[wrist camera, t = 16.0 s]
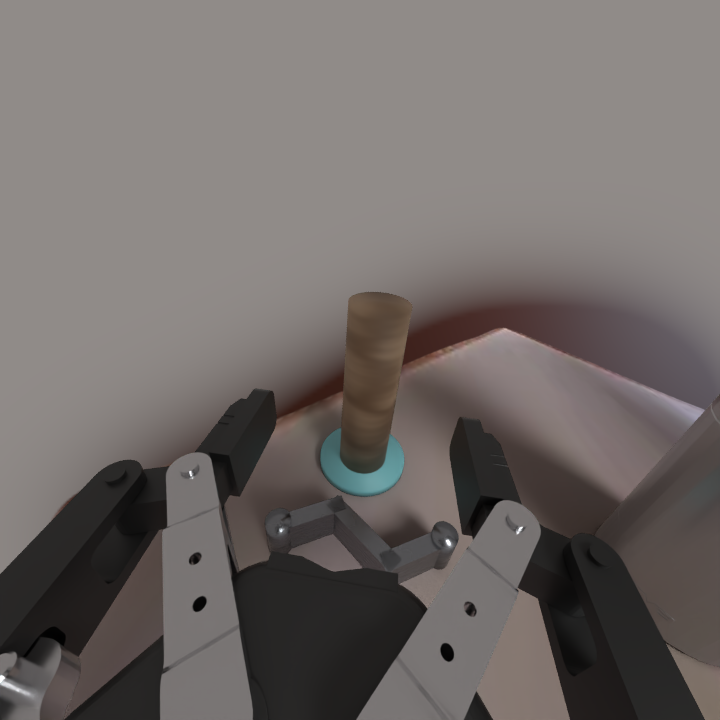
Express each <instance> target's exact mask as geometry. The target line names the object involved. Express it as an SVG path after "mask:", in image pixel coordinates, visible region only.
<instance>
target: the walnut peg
mask: <svg viewBox="0 0 720 720" xmlns="http://www.w3.org/2000/svg"><path fill="white" fill-rule="evenodd" d="M411 311H412V304H411V303H410V302H409V301H408V300H406V299H404V298H402V297H400V296H396V295H393V294H388V293H381V292H365V293H359V294H356V295H353V296H351V297H350V298H349V301H348V319H347V336H346V337H347V338H346V354H345V372H344V389H343V407H342V424H341V442H340V458H341V461H342V463H343V464H344V465H345V466H346V467H347V468H348V469H349V470H351V471H353V472H356V473H361V474H368V473H372V472H375V471H377V470H378V469H380V468H381V467H382V466H383V464H384V462H385V458H386V453H387V447H388V441H389V436H390V430H391V424H392V419H393V413H394V407H395V402H396V396H397V390H398V385H399V379H400V374H401V368H402V362H403V357H404V351H405V345H406V339H407V334H408V328H409V323H410V317H411Z"/></svg>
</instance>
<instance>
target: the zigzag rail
mask: <svg viewBox="0 0 720 720" xmlns="http://www.w3.org/2000/svg"><path fill="white" fill-rule="evenodd" d="M265 528H266V534H267V540H268V546H269V550H270V552H272V551H274V552H280V553H285V554H287V553H288V552H289V551H290V550H291V548H294V547H297V546H299V545H302V544H305V543H308V542H310V541H313V540H316V539H319V538H321V537H324V536H327V535H330V534H334V535H335V536H336V537H337V538H338V539H339V541H340V542H341V543H342V544H343V545H344V546H345V547H346V548H347V550H348V551H349V552H350V553H351V554H352V555H353V556H354V557H355V559H356V560H357V561H358V562H359V563H360V564H361V565H362V566H363V568H370V569H375V570H381V571H387V572H392V573H398V584H400V583H402V582H404V581H406V580H408V579H410V578H413V577H415V576H417V575H419V574H421V573H423V572H426V571H428V570H430V569H432V568H435V569H443V568H445V567H446V566H447V564H448V562H449V560H450V557H451V555H452V553H453V551H454V549H455V547H456V545H457V542H458V533H457V531H456V529H455V528H454V527H453V526H452V525H451V524H450V523H447V522H444V521H440V522H437V523H436V524H435V525H434V527H433V530H432V532H431V533H428V534H426V535H423V536H421V537H419V538H416V539H414V540H411V541H409V542H406V543H404V544H401V545H399V546H397V547H394V548H392V549H391V548H390V547H389V546H388V545H387V544H386V543H385V542H384V541H383V540H382V539H381V538H380V537H379V536H378V535H377V534H376V533H375V532H374V531H373V530H372V529H371V528H370V527H369V526H368V525H367V524H366V523H365V522H364V521H363V520H362V519H361V518H360V517H359V516H358V515H357V514H356V513H355V512H354V511H353V510H352V509H351V508H350V507H349V506H348V505H347V504H346V503H345V502H344V501H343V498H342V496H338V495H337V496H336V497H335V498H331V499H328V500H325V501H322V502H319V503H316V504H312V505H309V506H306V507H303V508H300V509H297V510H293V511H290V512H288V511H287V510H286V509H283V508H277V509H274V510H272V511H271V512H270V513H269V514H268V515H267V517H266V519H265Z"/></svg>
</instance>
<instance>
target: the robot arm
mask: <svg viewBox="0 0 720 720" xmlns="http://www.w3.org/2000/svg"><path fill="white" fill-rule="evenodd" d="M276 418H277V417H276V408H275V400H274V393H273V391H270V390H262V389H254V390H253V391H252V392H251V394H250V395H249V397H248V398H247V399H240V400H238V401H237V402H235V403H234V404H233V405H231V406H230V407H229V408H228V410H227V411H226V412H225V414H224V416H222V417H221V419H220V420H219V421H218V424H216V425H215V427H214V428H213V429H212V431H211V432H210V433H209V434H208V436H207V437H206V438H205V440H204V441H203V442H202V444H201V445H200V446H199V448H198V449H197V450H196V451H195V452H194V453H190V454H187V455H184V456H182V457H180V458H179V459H177V460H176V461H174V462H173V463H172V464H171V466H167V467H160V468H152V469H144V470H143V468H142V466H141V465H140V463H139V462H137V461H135V460H123V461H119V462H116V463H113V464H111V465H109V466H107V467H105V468H104V469H102V470H101V471H100V472H98V474H96V475H95V476H94V477H93V479H91V480H90V482H89V483H88V484H87V485H86V486H85V487H84V488H83V489H82V490H81V491H80V492H79V493H78V494H77V495H76V496H75V497H74V498H73V499H72V500H71V501H70V502H69V503H68V504H67V505H66V506H65V507H64V509H63V510H62V511H61V512H60V513H59V514H58V515H57V516H56V517H55V518H54V519H53V520H52V521H51V522H50V523H49V524H48V525H47V526H46V527H45V528H44V529H43V530H42V531H41V532H40V533H39V535H38V536H37V537H36V538H35V539H34V540H33V541H32V542H31V543H30V544H29V545H28V546H27V547H26V548H25V549H24V550H23V551H22V552H21V553H20V554H19V555H18V556H17V557H16V558H15V559H14V560H13V561H12V562H11V564H10V565H9V566H8V567H7V568H6V569H5V570H4V571H3V572H2V573H1V574H0V720H64V714H65V710H66V707H67V705H68V704H69V702H70V701H71V699H72V697H73V694H74V689H75V687H76V685H77V682H78V680H79V676H80V672H81V663H80V660H79V658H78V656H79V655H80V653H81V652H82V650H83V649H84V647H85V645H86V644H87V642H88V641H89V639H90V637H91V636H92V634H93V633H94V631H95V630H96V628H97V626H98V625H99V623H100V622H101V620H102V619H103V617H104V615H105V614H106V612H107V611H108V609H109V608H110V606H111V604H112V603H113V601H114V600H115V598H116V597H117V595H118V593H119V592H120V590H121V589H122V587H123V586H124V584H125V582H126V581H127V579H128V578H129V576H130V575H131V573H132V571H133V570H134V568H135V567H136V565H137V564H138V562H139V560H140V559H141V557H142V556H143V554H144V553H145V551H146V549H147V548H148V546H149V545H150V543H151V541H152V540H153V538H154V537H155V535H156V534H157V532H158V530H160V529H163V532H162V564H163V625H164V635H162V636H161V637H160V638H159V639H158V640H157V641H155V642H154V643H153V644H152V645H151V646H150V647H148V648H147V649H146V650H145V651H144V652H142V653H141V654H140V655H139V656H138V657H137V658H135V659H134V660H133V661H132V662H131V663H130V664H128V665H127V666H126V667H125V668H124V669H123V670H121V671H120V672H119V673H118V674H117V675H115V676H114V677H113V678H112V679H111V680H110V681H108V682H107V683H106V684H105V685H104V686H103V687H101V688H100V689H99V690H98V691H97V692H95V693H94V694H93V695H92V696H91V697H90V698H88V699H87V700H86V701H85V702H84V703H83V704H81V705H80V706H79V707H78V708H77V709H76V710H74V711H73V712H72V713H71V714H70V715H69V716H68V717H67V718H66V719H65V720H493V719H492V717H491V715H490V714H489V712H488V710H487V709H486V707H485V705H484V703H483V702H482V700H481V698H480V696H479V695H478V693H477V688H478V686H479V684H480V681H481V679H482V677H483V674H484V672H485V670H486V667H487V665H488V663H489V661H490V658H491V656H492V654H493V651H494V649H495V647H496V644H497V642H498V640H499V638H500V635H501V633H502V631H503V628H504V626H505V624H506V621H507V619H508V617H509V614H510V612H511V610H512V608H513V605H514V603H515V601H516V598H517V595H518V590H517V588H519V589H521V590H523V591H525V592H527V593H529V594H530V595H532V596H534V597H536V598H538V601H539V605H540V608H541V612H542V616H543V620H544V623H545V627H546V631H547V635H548V638H549V642H550V646H551V650H552V653H553V657H554V661H555V665H556V668H557V672H558V676H559V680H560V683H561V687H562V691H563V695H564V698H565V702H566V706H567V710H568V713H569V717H570V720H705V719H704V717H703V715H702V713H701V711H700V709H699V707H698V705H697V703H696V701H695V699H694V697H693V696H692V694H691V692H690V690H689V688H688V686H687V684H686V682H685V680H684V678H683V676H682V674H681V672H680V670H679V668H678V666H677V665H676V663H675V661H674V659H673V657H672V655H671V653H670V651H669V649H668V647H667V645H666V643H665V641H666V642H667V643H669V644H670V645H672V646H673V647H675V648H677V649H678V650H680V651H682V652H683V653H685V654H687V655H688V656H691V657H693V658H695V659H697V660H699V661H702V662H704V663H706V664H709V665H713V666H717V667H720V394H719V395H718V396H717V398H716V399H715V400H714V401H713V402H712V404H711V405H710V406H709V407H708V408H707V409H706V410H705V411H704V412H703V414H702V415H701V416H700V417H699V418H698V419H697V420H696V421H695V422H694V424H693V425H692V426H691V427H690V428H689V429H688V430H687V431H686V432H685V433H684V435H683V436H682V437H681V438H680V439H679V440H678V441H677V442H676V443H675V445H674V446H673V447H672V448H671V449H670V450H669V451H668V452H667V453H666V454H665V456H664V457H663V458H662V459H661V460H660V461H659V462H658V463H657V464H656V466H655V467H654V468H653V469H652V470H651V471H650V472H649V473H648V474H647V475H646V477H645V478H644V479H643V480H642V481H641V482H640V483H639V484H638V485H637V487H636V488H635V489H634V490H633V491H632V492H631V493H630V494H629V495H628V496H627V498H626V499H625V500H624V501H623V502H622V503H621V504H620V505H619V506H618V507H617V508H616V509H615V511H614V512H613V513H612V514H611V515H610V516H609V517H608V518H607V520H606V521H605V522H604V523H603V524H602V525H601V526H600V527H599V529H598V530H597V532H596V533H595V536H593V535H589V534H584V533H580V534H576V535H575V536H574V537H573V538H572V539H569V538H567V537H565V536H563V535H560V534H558V533H556V532H554V531H552V530H549V529H547V528H545V527H543V526H542V525H540V524H539V523H538V521H537V519H536V518H535V516H534V515H533V514H532V513H531V512H530V511H529V510H528V509H527V508H526V507H524V506H523V505H522V504H521V501H520V498H519V496H518V493H517V490H516V487H515V484H514V482H513V479H512V476H511V473H510V470H509V468H508V467H507V462H506V459H505V458H504V454H503V451H502V448H501V445H500V444H499V442H498V441H497V440H496V439H495V438H494V436H493V435H492V434H488V433H484V432H483V429H482V425H481V422H480V420H478V419H471V418H464V417H460V418H459V419H458V422H457V425H456V428H455V431H454V434H453V437H452V440H451V444H450V461H451V467H452V474H453V480H454V486H455V492H456V498H457V505H458V511H459V517H460V523H461V529H462V534H463V535H469V536H472V537H473V541H472V543H471V544H470V546H469V547H468V548H467V549H466V551H465V552H464V554H463V555H462V557H461V558H460V560H459V561H458V563H457V564H456V566H455V568H454V569H453V571H452V572H451V574H450V575H449V577H448V579H447V580H446V582H445V583H444V585H443V586H442V588H441V589H440V591H439V593H438V594H437V596H436V597H435V599H434V600H433V602H432V604H431V605H430V607H429V608H428V609H427V608H426V606H425V605H424V604H423V603H422V602H421V601H420V599H419V598H418V597H416V596H415V595H414V594H413V593H412V592H411V591H409V590H408V589H406V588H405V587H403V586H401V585H399V584H398V573H392V572H387V571H381V570H375V569H370V568H362V569H353V570H345V571H337V572H333V571H329V570H327V569H325V568H323V567H321V566H320V565H318V564H316V563H314V562H312V561H310V560H308V559H306V558H304V557H302V556H297V555H291V554H285V553H280V552H274V551H272V552H271V555H270V557H269V560H268V561H264V562H260V563H257V564H254V565H251V566H249V567H247V568H245V569H243V570H241V571H239V568H238V564H237V560H236V556H235V552H234V547H233V542H232V537H231V532H230V527H229V522H228V517H227V512H226V507H225V502H226V501H227V499H228V497H229V495H233V496H239V497H240V495H241V493H242V491H243V489H244V487H245V485H246V483H247V481H248V479H249V477H250V476H251V474H252V472H253V470H254V468H255V466H256V464H257V462H258V460H259V458H260V456H261V454H262V452H263V450H264V449H265V447H266V445H267V443H268V441H269V439H270V437H271V435H272V433H273V431H274V429H275V425H276ZM664 640H665V641H664Z"/></svg>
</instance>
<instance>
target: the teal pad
mask: <svg viewBox="0 0 720 720" xmlns="http://www.w3.org/2000/svg"><path fill="white" fill-rule="evenodd" d="M340 442H341V428H339V429H337V430H335V431H334V432H332V433H331V434H330V435H329V436H328V437H327V438H326V440H325V441H324V443H323V445H322V448H321V455H320V460H321V468H322V471H323V473H324V475H325V477H326V478H327V480H328V481H329V482H330V483H331V484H332V485H333V486H334V487H336V488H337V489H339V490H340V491H342V492H345V493H347V494H350V495H354V496H360V497H368V496H375V495H379V494H381V493H384V492H386V491H388V490H389V489H391V488H392V487H393V486H394V485H395V484H396V483H397V482H398V480H399V478H400V476H401V474H402V471H403V466H404V454H403V450H402V448H401V446H400V444H399V443H398V441H397V440H396V439H395V438H394V437H393V436H392V435H391V434H390V436H389V441H388V447H387V453H386V458H385V462H384V464H383V466H382V467H381V468H380V469H378V470H377V471H375V472H372V473H368V474H361V473H356V472H353V471H351V470H349V469H348V468H347V467H346V466H345V465H344V464H343V463H342V461H341V458H340Z"/></svg>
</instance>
